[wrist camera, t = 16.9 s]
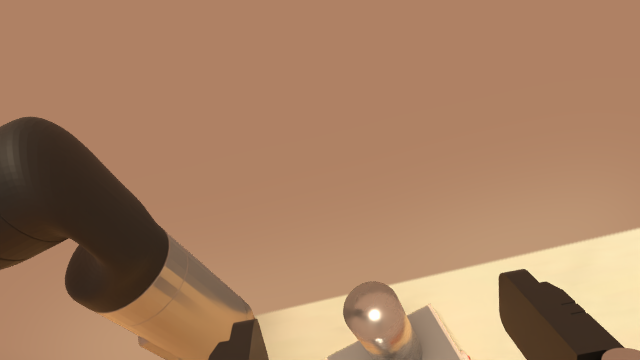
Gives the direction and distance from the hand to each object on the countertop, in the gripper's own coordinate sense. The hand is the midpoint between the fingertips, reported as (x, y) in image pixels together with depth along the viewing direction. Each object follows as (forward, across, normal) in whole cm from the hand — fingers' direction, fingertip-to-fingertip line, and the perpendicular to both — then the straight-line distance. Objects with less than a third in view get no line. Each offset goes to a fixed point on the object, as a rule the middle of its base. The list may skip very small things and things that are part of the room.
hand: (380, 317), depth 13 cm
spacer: (+18, -3, +20) cm, 27 cm away
